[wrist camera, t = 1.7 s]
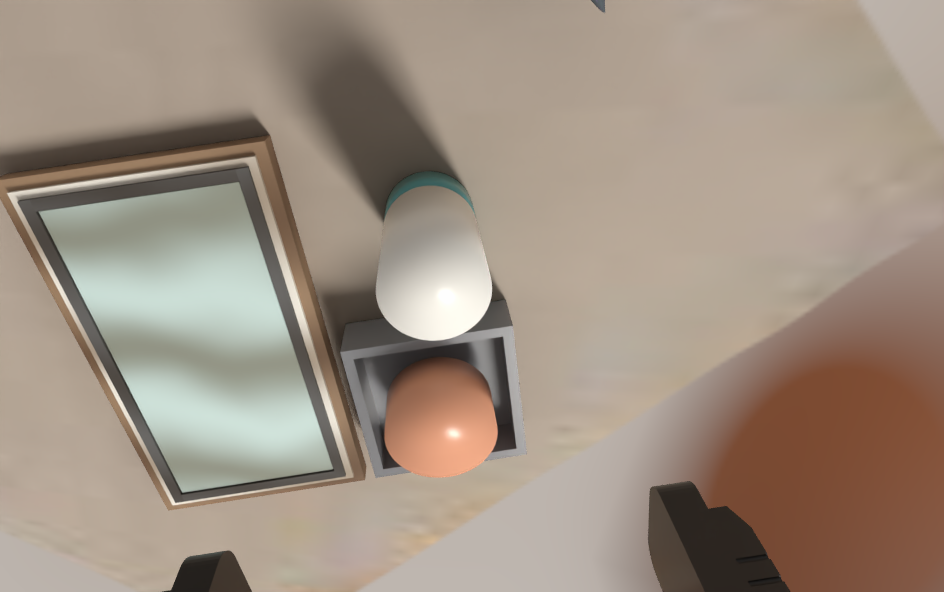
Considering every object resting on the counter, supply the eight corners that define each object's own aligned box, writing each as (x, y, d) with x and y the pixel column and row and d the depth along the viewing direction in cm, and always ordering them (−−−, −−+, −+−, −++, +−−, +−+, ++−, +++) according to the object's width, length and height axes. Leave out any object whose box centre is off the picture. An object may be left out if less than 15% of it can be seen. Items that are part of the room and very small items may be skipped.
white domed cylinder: (377, 178, 26) (364, 247, 19) (467, 165, 26) (485, 229, 19) (394, 260, 28) (388, 348, 21) (478, 247, 28) (498, 331, 21)
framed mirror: (6, 174, 25) (-16, 184, 23) (269, 134, 25) (262, 143, 23) (174, 496, 34) (165, 516, 33) (366, 466, 34) (364, 485, 33)
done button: (377, 365, 28) (374, 400, 26) (484, 349, 28) (491, 382, 26) (397, 447, 31) (396, 484, 29) (496, 431, 31) (502, 468, 29)
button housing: (345, 323, 29) (340, 352, 27) (505, 299, 29) (512, 325, 27) (378, 444, 33) (375, 477, 31) (519, 422, 33) (526, 454, 31)
